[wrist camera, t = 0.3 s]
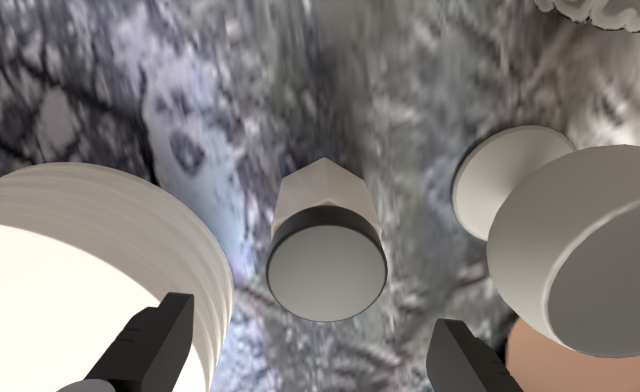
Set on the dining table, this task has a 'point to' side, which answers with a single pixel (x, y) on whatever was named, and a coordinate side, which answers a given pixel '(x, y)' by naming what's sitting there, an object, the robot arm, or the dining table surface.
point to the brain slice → (597, 12)
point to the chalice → (559, 234)
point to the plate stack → (99, 272)
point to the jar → (325, 245)
